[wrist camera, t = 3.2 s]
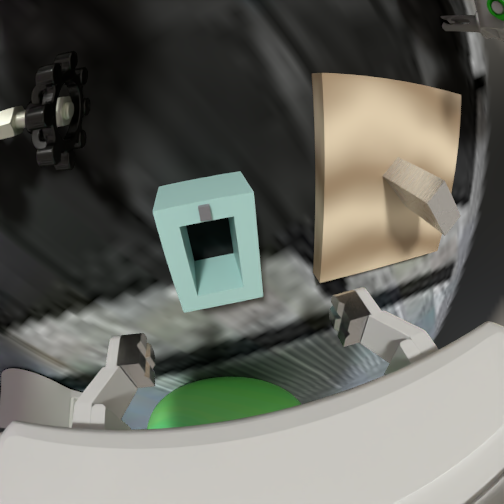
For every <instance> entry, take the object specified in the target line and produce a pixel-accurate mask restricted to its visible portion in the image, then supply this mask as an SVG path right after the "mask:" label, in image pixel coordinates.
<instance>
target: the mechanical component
mask: <svg viewBox="0 0 504 504" xmlns="http://www.w3.org/2000/svg"><path fill="white" fill-rule="evenodd" d="M474 1H475V5H476V9H477V11H476V13H475V15H451V16H441V18H442V19H444V20H447V21H448V22H449V23H450V24H447V23H445V22H443V24H442V28H443V29H444V30H445V31H464V32H480V33H481V34H482V35H483V36H484V37H485V38H487V39H491V38H497V39H499V40H501V41H503V42H504V0H474ZM460 22H469V24H465V25H462V24H461V23H460Z"/></svg>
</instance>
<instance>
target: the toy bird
mask: <svg viewBox="0 0 504 504" xmlns="http://www.w3.org/2000/svg"><path fill="white" fill-rule="evenodd" d="M297 405H301V403H300V402H299V401H298V400H297V399H296V398H295V397H294V396H293V395H292V394H291V393H289V392H288V391H286V390H285V389H283V388H281V387H279V386H277V385H275V384H272V383H269V382H266V381H262V380H258V379H253V378H246V377H216V378H209V379H203V380H199V381H195V382H192V383H189V384H186V385H184V386H181V387H179V388H177V389H175V390H174V391H172V392H170V393H169V394H168V395H166V396H165V397H164V398H163V399H162V400H161V401H160V402H159V403H158V404H157V406H156V407H155V409H154V410H153V412H152V414H151V417H150V419H149V423H148V427H147V429H160V428H174V427H184V426H194V425H202V424H209V423H216V422H223V421H229V420H235V419H240V418H245V417H251V416H255V415H260V414H265V413H269V412H273V411H278V410H282V409H286V408H290V407H293V406H297Z"/></svg>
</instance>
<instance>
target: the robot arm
mask: <svg viewBox="0 0 504 504" xmlns="http://www.w3.org/2000/svg"><path fill="white" fill-rule="evenodd" d="M331 303H332V304H333V306H332V307H331V308H330V313H329V315H330V321H331V324H332V326H333V328H334V329H335V330H337V331H339V332H338V338H339V340H340V341H341V343H342V345H343V347H346V346H349V345H353V344H356V343H359V342H360V343H361V344H362V345H364V346H365V347H367V348H368V349H369V350H371V351H372V352H374V353H375V354H377V355H378V356H380V357H381V358H383V359H384V360H385V361H387V362H388V363H390V364H389V366H388V367H387V369H386V371H385V373H384V375H385V376H382V377H380V378H377V379H375V380H372V381H370V382H367V383H365V384H362V385H359V386H357V387H354V388H351V389H348V390H346V391H343V392H340V393H337V394H334V395H331V396H328V397H324V398H321V399H318V400H315V401H311V402H308V403H304V404H301V405H297V406H293V407H290V408H286V409H282V410H278V411H273V412H269V413H265V414H260V415H255V416H251V417H245V418H240V419H235V420H229V421H223V422H216V423H209V424H202V425H194V426H184V427H174V428H160V429H140V430H131V428H130V427H129V426H128V425H127V424H125V423H124V422H123V421H122V420H121V418H122V417H123V415H124V413H125V411H126V409H127V408H128V406H129V404H130V402H131V400H132V398H133V397H134V395H135V393H136V391H137V390H138V389H137V388H143V387H152V386H155V372H154V371H153V369H152V368H153V367H154V366H155V355H154V351H153V348H152V346H151V345H150V344H149V343H147V337H146V336H145V334H144V333H140V334H130V335H122V336H112V337H111V338H110V341H109V347H108V353H107V360H106V367H103V368H102V369H101V370H100V371H99V373H98V374H97V375H96V376H95V378H94V379H93V380H92V382H91V383H90V384H89V385H88V387H87V388H86V389H85V390H84V392H83V393H82V392H78V391H75V390H71V389H69V388H67V387H65V386H63V385H61V384H59V383H57V382H55V381H53V380H51V379H49V378H46V377H44V376H41V375H39V374H36V373H33V372H30V371H26V370H22V369H14V368H11V369H6V370H4V371H3V372H2V374H1V397H0V504H504V327H503V326H501V325H499V324H496V323H493V322H485V323H484V324H482V325H480V326H479V327H477V328H476V329H474V330H472V331H471V332H469V333H467V334H466V335H464V336H462V337H461V338H459V339H458V340H456V341H454V342H452V343H450V344H449V345H447V346H445V347H443V348H441V349H438V348H437V347H436V345H435V344H434V342H433V341H432V339H431V338H430V337H429V335H428V334H427V332H426V331H425V330H423V329H421V328H419V327H417V326H415V325H413V324H411V323H409V322H407V321H405V320H403V319H401V318H399V317H397V316H395V315H392V314H390V313H388V312H386V311H381V310H380V308H379V307H378V305H377V304H376V303H375V301H374V300H373V298H372V297H371V296H370V294H369V293H368V291H367V290H366V289H365V288H364V287H362V288H359V289H355V290H351V291H347V292H344V293H340V294H336V295H333V296H332V299H331Z"/></svg>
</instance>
